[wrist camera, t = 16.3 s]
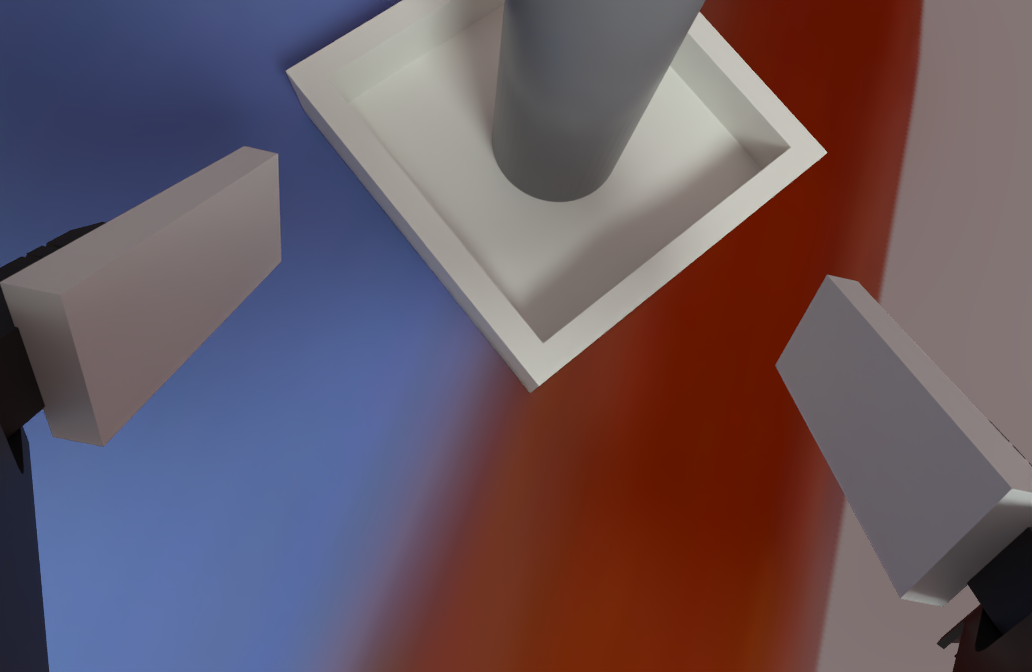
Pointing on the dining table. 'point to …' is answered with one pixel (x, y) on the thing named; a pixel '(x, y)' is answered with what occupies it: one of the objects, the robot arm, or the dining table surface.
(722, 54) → the tray
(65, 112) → the dining table surface
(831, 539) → the dining table surface
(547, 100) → the charcoal cell
